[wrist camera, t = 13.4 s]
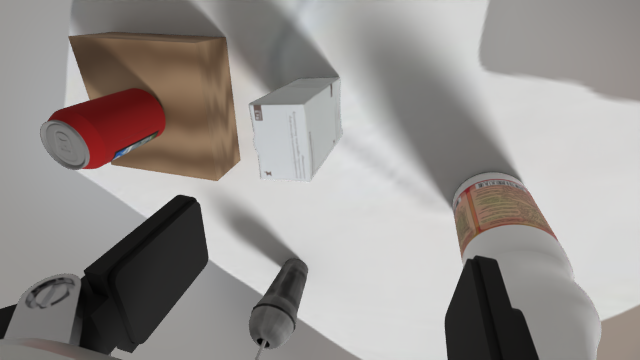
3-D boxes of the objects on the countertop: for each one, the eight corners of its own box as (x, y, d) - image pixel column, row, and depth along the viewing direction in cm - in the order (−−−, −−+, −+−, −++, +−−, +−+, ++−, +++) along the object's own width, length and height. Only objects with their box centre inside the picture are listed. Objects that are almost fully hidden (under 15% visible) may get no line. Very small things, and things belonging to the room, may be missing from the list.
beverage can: (129, 129, 45) (45, 167, 35) (121, 81, 41) (24, 106, 31) (172, 141, 44) (98, 183, 34) (167, 92, 40) (83, 122, 30)
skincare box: (343, 135, 44) (314, 187, 32) (302, 134, 46) (259, 184, 33) (340, 72, 41) (306, 104, 28) (295, 74, 42) (244, 105, 30)
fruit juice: (500, 156, 40) (620, 374, 17) (544, 206, 42) (710, 470, 18) (437, 195, 45) (461, 408, 21) (478, 239, 47) (543, 482, 23)
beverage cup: (272, 268, 61) (217, 370, 44) (288, 246, 57) (234, 348, 40) (304, 288, 61) (262, 397, 44) (322, 267, 58) (283, 377, 41)
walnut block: (112, 32, 46) (68, 36, 40) (225, 37, 42) (194, 43, 36) (144, 147, 55) (111, 164, 49) (240, 160, 51) (217, 181, 45)
